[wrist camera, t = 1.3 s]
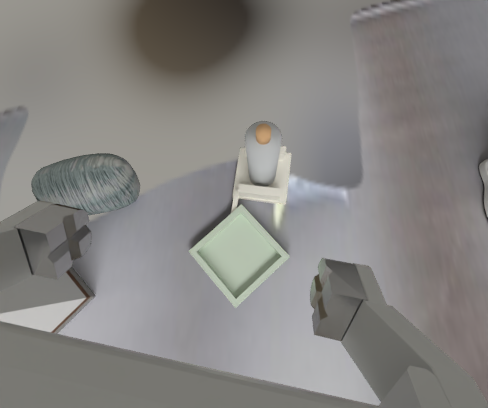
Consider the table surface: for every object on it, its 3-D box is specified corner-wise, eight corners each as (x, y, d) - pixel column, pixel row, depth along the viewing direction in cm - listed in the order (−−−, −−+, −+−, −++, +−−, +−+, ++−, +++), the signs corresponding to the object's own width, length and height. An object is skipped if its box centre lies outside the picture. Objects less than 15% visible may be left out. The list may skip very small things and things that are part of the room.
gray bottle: (263, 157, 41) (264, 105, 28) (281, 175, 40) (291, 131, 27) (243, 174, 41) (235, 130, 28) (261, 192, 40) (262, 156, 27)
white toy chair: (290, 155, 42) (293, 145, 39) (282, 227, 39) (285, 223, 36) (240, 149, 43) (238, 140, 39) (229, 219, 40) (226, 216, 37)
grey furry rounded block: (38, 234, 38) (1, 184, 31) (60, 186, 44) (33, 135, 37) (140, 232, 41) (128, 186, 33) (147, 187, 47) (138, 140, 39)
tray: (242, 206, 40) (241, 204, 39) (288, 257, 38) (290, 256, 37) (191, 251, 39) (188, 251, 38) (236, 306, 37) (235, 308, 36)
